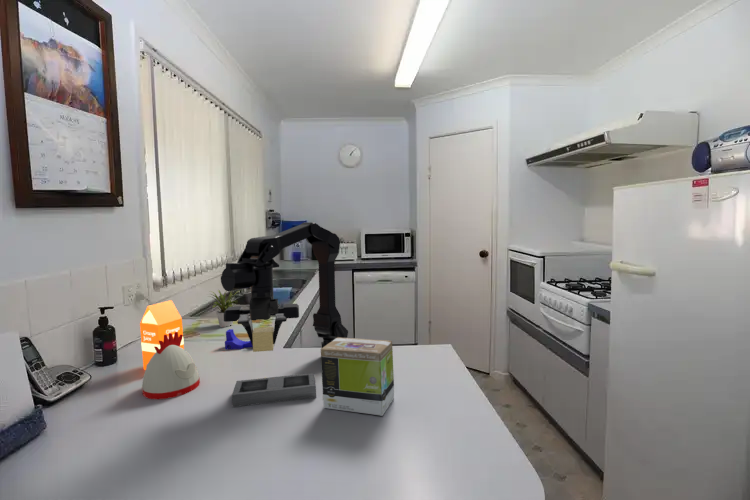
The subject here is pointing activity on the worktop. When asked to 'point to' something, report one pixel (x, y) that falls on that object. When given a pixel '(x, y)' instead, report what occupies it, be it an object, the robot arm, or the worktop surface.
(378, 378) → the tea box
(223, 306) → the house plant
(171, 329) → the orange juice
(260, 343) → the brass cuboid
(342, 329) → the robot arm
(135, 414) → the worktop surface
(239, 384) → the grey flat block
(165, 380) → the kitchen timer
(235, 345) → the cable clip
